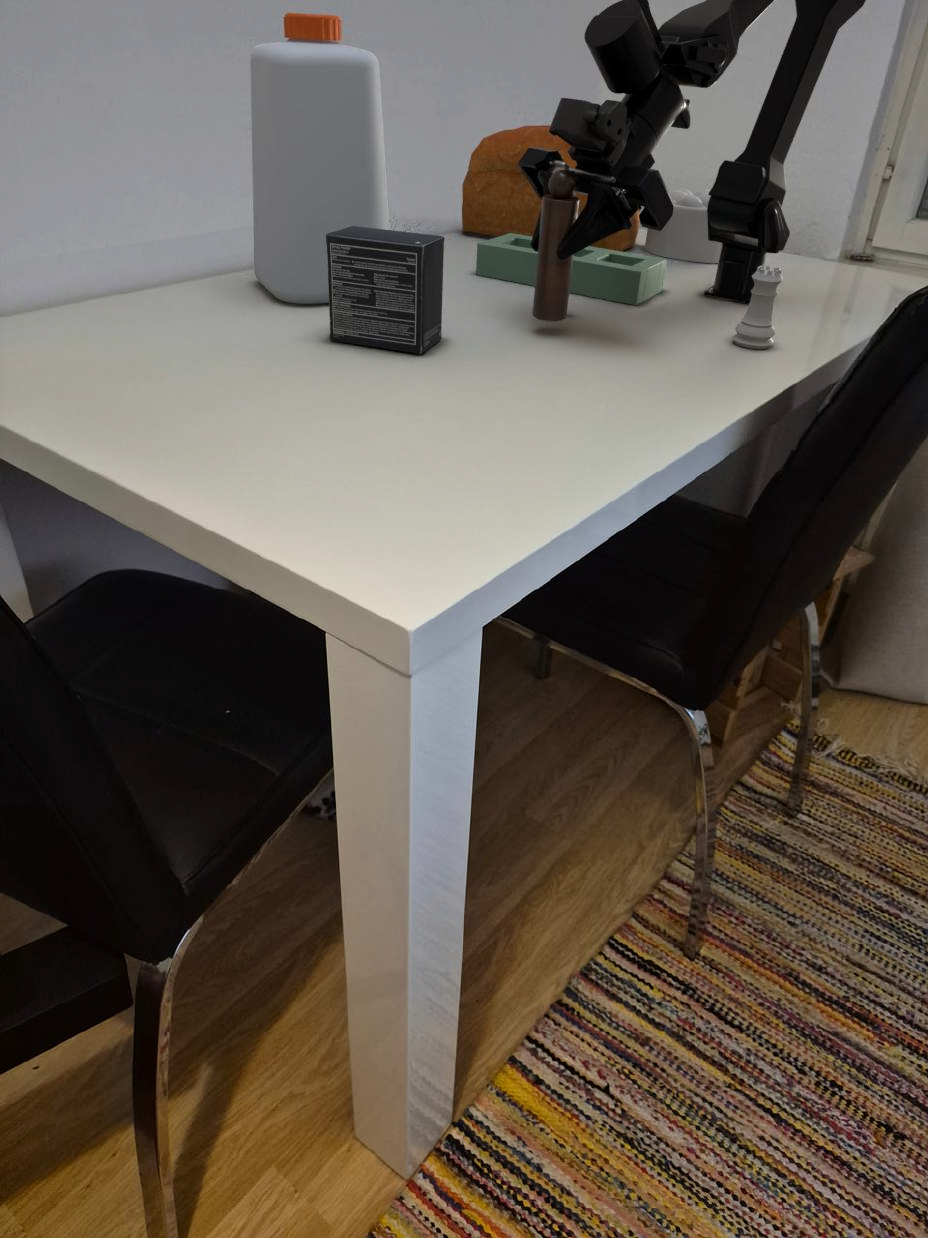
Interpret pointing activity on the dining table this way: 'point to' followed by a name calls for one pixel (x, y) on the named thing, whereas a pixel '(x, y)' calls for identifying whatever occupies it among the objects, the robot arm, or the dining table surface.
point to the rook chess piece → (759, 311)
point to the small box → (385, 288)
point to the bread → (517, 187)
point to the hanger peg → (555, 248)
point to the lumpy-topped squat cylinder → (686, 230)
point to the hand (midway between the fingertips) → (545, 252)
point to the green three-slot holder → (576, 269)
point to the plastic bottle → (313, 153)
